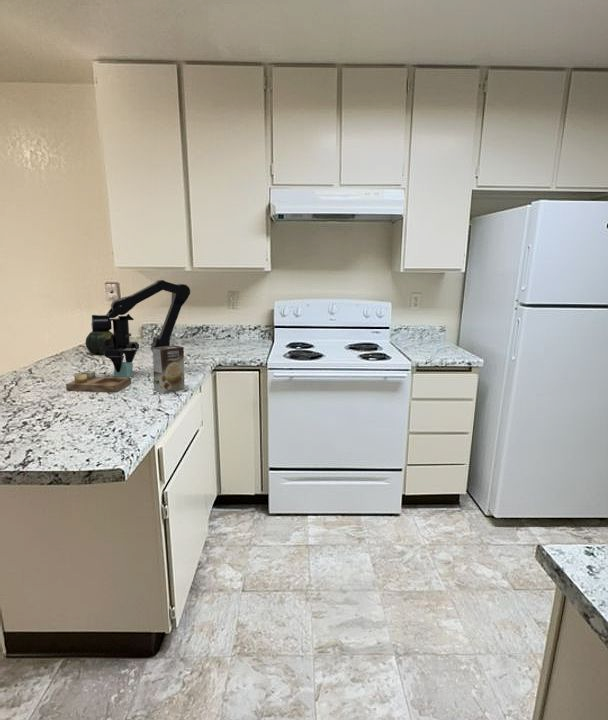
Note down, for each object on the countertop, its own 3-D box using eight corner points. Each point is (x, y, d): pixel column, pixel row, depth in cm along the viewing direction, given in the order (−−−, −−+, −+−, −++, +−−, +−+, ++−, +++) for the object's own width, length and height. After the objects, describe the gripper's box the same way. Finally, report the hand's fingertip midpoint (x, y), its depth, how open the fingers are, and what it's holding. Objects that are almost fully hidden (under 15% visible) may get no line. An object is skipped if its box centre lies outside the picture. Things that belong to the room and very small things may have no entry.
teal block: (132, 376, 168) (131, 362, 166) (127, 379, 163) (126, 364, 162) (120, 376, 168) (119, 361, 166) (114, 379, 163) (113, 364, 162)
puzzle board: (131, 383, 156) (130, 371, 155) (116, 392, 145) (115, 379, 144) (85, 382, 157) (83, 369, 156) (66, 390, 145) (65, 377, 144)
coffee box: (163, 394, 145) (161, 349, 141) (153, 390, 149) (151, 347, 145) (185, 389, 152) (184, 346, 148) (175, 385, 156) (174, 344, 152)
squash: (89, 347, 198) (107, 322, 204) (75, 344, 207) (92, 321, 213) (111, 362, 208) (128, 339, 214) (97, 359, 217) (113, 337, 223)
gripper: (112, 327, 171) (114, 364, 174) (88, 334, 152) (91, 374, 156) (138, 328, 170) (140, 364, 174) (117, 335, 152) (120, 375, 155)
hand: (123, 369), depth 165 cm, fingers open, 9 cm apart
